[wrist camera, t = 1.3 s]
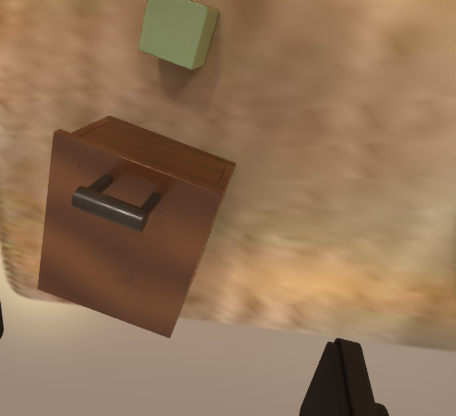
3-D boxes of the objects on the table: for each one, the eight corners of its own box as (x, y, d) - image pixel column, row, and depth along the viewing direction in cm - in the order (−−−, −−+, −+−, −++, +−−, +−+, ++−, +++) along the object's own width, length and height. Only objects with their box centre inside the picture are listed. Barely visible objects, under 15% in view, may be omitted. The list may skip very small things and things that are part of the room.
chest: (109, 115, 36) (58, 138, 28) (235, 163, 36) (221, 199, 28) (87, 238, 43) (42, 283, 35) (193, 278, 43) (172, 332, 35)
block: (156, 47, 33) (137, 49, 28) (168, -9, 30) (149, -15, 26) (203, 65, 33) (191, 70, 29) (219, 11, 31) (208, 7, 26)
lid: (59, 128, 28) (11, 148, 23) (224, 190, 28) (210, 223, 23) (42, 284, 35) (3, 323, 30) (172, 332, 35) (153, 379, 31)
